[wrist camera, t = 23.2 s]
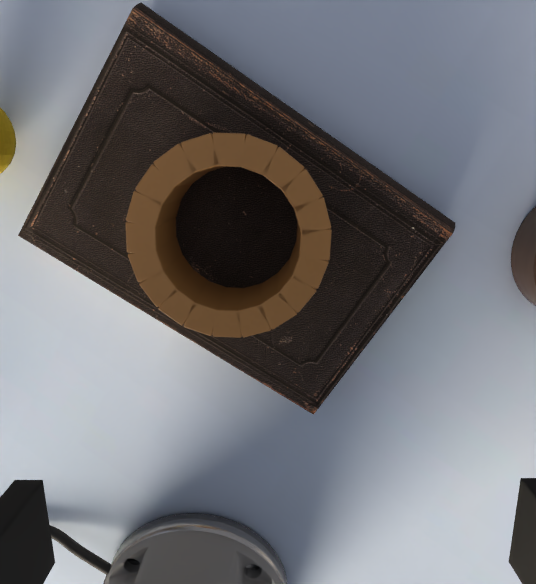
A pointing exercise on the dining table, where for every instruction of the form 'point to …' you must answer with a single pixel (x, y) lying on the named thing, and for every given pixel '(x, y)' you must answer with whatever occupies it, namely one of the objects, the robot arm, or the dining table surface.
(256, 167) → the brown wooden open cylinder
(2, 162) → the lemon
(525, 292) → the seal stamp
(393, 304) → the hardcover book
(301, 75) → the dining table surface
